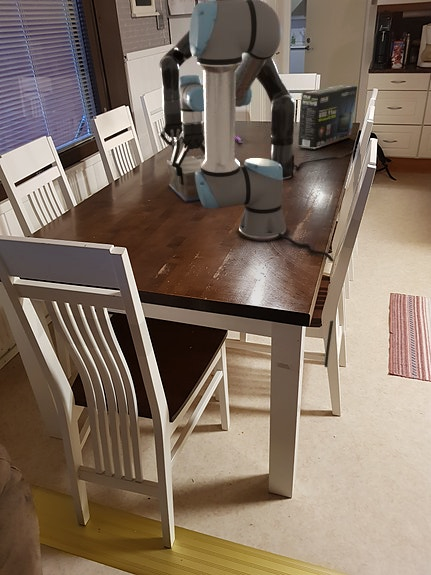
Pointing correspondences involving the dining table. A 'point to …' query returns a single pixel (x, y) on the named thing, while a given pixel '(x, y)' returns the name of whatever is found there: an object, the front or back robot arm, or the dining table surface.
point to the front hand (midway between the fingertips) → (195, 181)
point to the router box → (326, 115)
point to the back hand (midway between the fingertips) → (175, 154)
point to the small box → (185, 179)
